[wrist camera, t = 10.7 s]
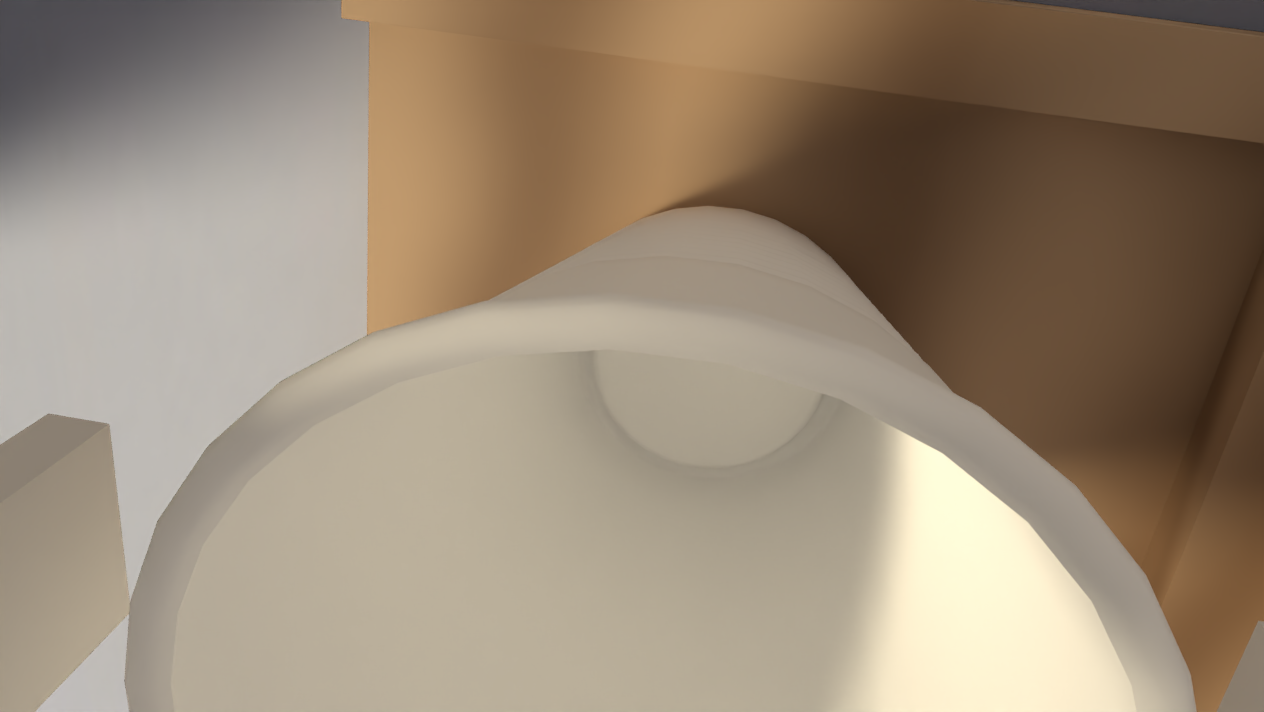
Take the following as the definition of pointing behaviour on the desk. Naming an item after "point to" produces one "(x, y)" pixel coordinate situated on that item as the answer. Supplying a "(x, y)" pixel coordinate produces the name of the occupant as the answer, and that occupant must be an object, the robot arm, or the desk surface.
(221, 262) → the desk surface
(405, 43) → the bracket shelf
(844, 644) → the cup
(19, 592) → the robot arm
